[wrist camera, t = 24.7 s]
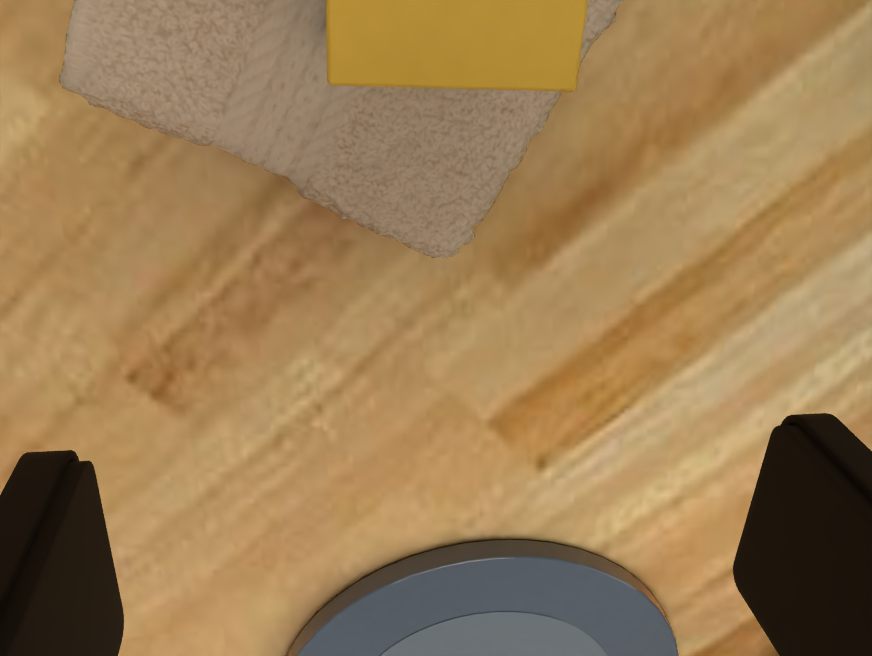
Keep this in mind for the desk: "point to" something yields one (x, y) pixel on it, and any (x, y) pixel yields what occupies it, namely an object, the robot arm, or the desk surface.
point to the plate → (493, 607)
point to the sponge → (455, 43)
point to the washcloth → (309, 109)
